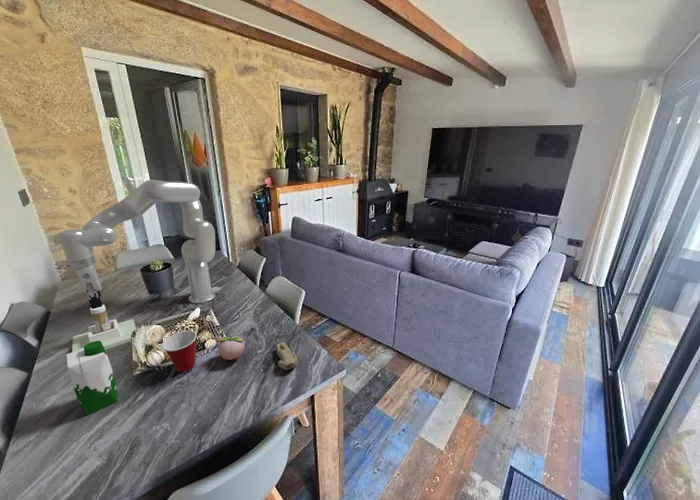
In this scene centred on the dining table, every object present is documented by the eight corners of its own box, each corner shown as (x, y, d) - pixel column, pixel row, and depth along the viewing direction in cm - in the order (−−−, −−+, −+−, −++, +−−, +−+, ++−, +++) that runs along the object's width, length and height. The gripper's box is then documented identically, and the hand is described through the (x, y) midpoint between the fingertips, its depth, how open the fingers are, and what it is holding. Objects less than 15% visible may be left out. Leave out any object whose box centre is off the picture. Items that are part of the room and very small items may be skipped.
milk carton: (122, 401, 89) (105, 348, 82) (83, 419, 83) (61, 363, 76) (117, 385, 95) (101, 334, 88) (81, 401, 89) (60, 348, 82)
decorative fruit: (218, 368, 103) (214, 345, 100) (221, 354, 110) (217, 332, 107) (245, 364, 105) (242, 341, 102) (246, 350, 113) (244, 328, 110)
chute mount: (133, 321, 130) (131, 311, 128) (138, 338, 118) (135, 327, 117) (74, 339, 117) (69, 328, 115) (73, 360, 106) (68, 348, 104)
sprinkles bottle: (112, 336, 117) (103, 308, 112) (98, 340, 114) (88, 311, 110) (113, 331, 120) (105, 302, 116) (99, 334, 118) (90, 305, 114)
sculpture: (270, 354, 112) (281, 376, 100) (269, 343, 111) (281, 364, 99) (288, 349, 116) (301, 370, 103) (287, 338, 115) (301, 358, 102)
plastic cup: (171, 360, 107) (164, 333, 103) (203, 353, 110) (198, 327, 106) (164, 381, 97) (157, 352, 93) (200, 373, 101) (194, 345, 97)
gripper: (96, 266, 103) (110, 308, 109) (95, 253, 115) (107, 291, 121) (68, 272, 98) (84, 315, 104) (69, 258, 110) (84, 297, 116)
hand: (96, 302), depth 113 cm, fingers open, 9 cm apart
